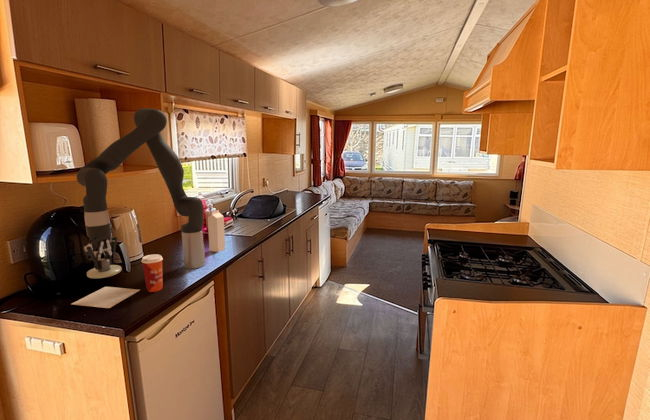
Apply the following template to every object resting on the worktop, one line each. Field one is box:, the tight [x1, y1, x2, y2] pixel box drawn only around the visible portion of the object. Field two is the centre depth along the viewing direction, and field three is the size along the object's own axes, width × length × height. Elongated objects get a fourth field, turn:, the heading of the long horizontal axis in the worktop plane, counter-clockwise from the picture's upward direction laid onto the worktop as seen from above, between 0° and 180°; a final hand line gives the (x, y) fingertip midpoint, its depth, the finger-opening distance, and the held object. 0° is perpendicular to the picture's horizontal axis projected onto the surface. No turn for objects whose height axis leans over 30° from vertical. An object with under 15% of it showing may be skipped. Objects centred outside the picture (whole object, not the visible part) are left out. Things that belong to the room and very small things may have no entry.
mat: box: [71, 286, 141, 309], centre depth 133 cm, size 16×16×1 cm
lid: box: [86, 257, 122, 279], centre depth 131 cm, size 11×11×5 cm
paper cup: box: [140, 253, 164, 293], centre depth 139 cm, size 8×8×14 cm
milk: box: [207, 209, 226, 253], centre depth 191 cm, size 6×6×22 cm
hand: (103, 267), depth 131 cm, fingers closed on lid, 4 cm apart
